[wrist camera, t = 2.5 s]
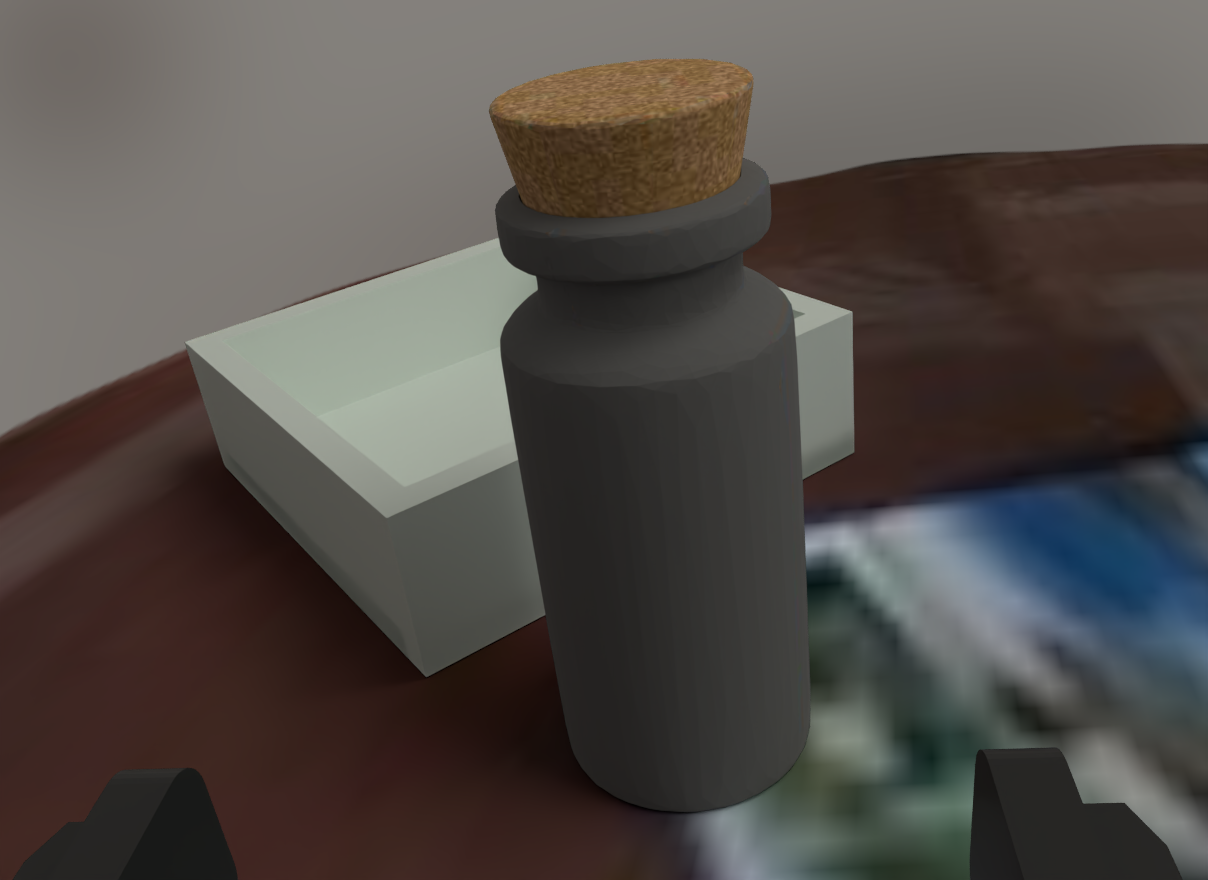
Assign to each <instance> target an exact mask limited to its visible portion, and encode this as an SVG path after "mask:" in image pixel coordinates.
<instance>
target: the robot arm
mask: <svg viewBox="0 0 1208 880" xmlns="http://www.w3.org/2000/svg"><path fill="white" fill-rule="evenodd" d="M970 879H971V880H1182V877H1181V875H1180V873H1179V871H1178V869H1177V866H1176V864H1175V862H1174V860H1173V858H1172V855H1171V853H1170V851H1169V849H1168V847H1167V845H1166V844H1165V843H1164V842H1163V841H1162V840H1161V839H1160V838H1159V837H1158V836H1157V835H1156V834H1155V833H1154V832H1153V831H1152V830H1151V829H1150V828H1149V827H1148V826H1147V825H1146V824H1145V823H1144V822H1143V821H1142V820H1141V819H1140V818H1139V817H1138V816H1137V815H1136V814H1135V813H1134V812H1133V811H1132V810H1131V809H1130V808H1129V807H1128V806H1127V805H1126V804H1125V803H1096V804H1083V803H1082V800H1081V797H1080V795H1079V792H1078V790H1077V787H1076V785H1075V782H1074V779H1073V777H1072V774H1071V772H1070V769H1069V766H1068V764H1067V762H1066V759H1065V757H1064V755H1063V754H1062V752H1061V751H1060V750H1059V749H1058V748H1024V749H986V750H979V751H978V753H977V756H976V764H975V779H974V795H973V812H972V828H971V845H970ZM13 880H238V878H237V872H236V867H235V864H234V861H233V858H232V856H231V853H230V850H229V848H228V845H227V842H226V839H225V837H224V834H223V831H222V829H221V826H220V823H219V820H218V818H217V815H216V812H215V810H214V807H213V804H212V802H211V799H210V796H209V793H208V791H207V788H206V785H205V783H204V780H203V778H202V776H201V775H200V774H199V772H197V771H196V770H195V769H192V768H173V769H136V770H123V771H120V772H118V773H117V774H115V775H114V776H113V777H112V778H111V780H110V781H109V782H108V784H107V785H106V787H105V789H104V790H103V792H102V793H101V795H100V797H99V798H98V800H97V802H96V803H95V805H94V806H93V808H92V810H91V811H90V813H89V815H88V816H87V818H86V819H85V821H84V822H68V823H67V824H66V825H65V826H64V827H62V828H61V829H60V830H59V831H58V832H57V833H56V834H55V835H54V836H53V837H51V838H50V839H49V840H48V841H47V842H46V843H45V844H44V845H43V846H41V847H40V848H39V849H38V850H37V851H36V852H35V853H34V854H33V855H31V856H30V857H29V858H28V859H27V860H26V861H25V862H24V863H23V865H22V866H21V868H20V869H19V871H18V872H17V874H16V875H15V877H14V878H13Z"/></svg>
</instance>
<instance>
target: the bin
mask: <svg viewBox="0 0 1208 880" xmlns="http://www.w3.org/2000/svg"><path fill="white" fill-rule="evenodd" d="M779 289H780V290H781V291H782V292H783V293H784V294H785V295H786V296H787V298H788V300H789V301H790V303H791V304H792V310H793V315H794V322H795V335H796V348H797V363H798V386H799V409H800V432H801V455H802V478H803V479H805V478H807V477H808V476H810V475H812V474H814V473H816V472H818V471H820V470H822V469H824V468H826V467H827V466H829V465H831V464H833V463H835V462H837V461H839V460H841V459H843V458H845V457H846V456H848V455H850V454H852V453H854V398H853V329H852V311H849V310H846V309H843V308H840V307H837V306H834V305H831V304H827V303H824V302H821V301H818V300H815V299H812V298H809V297H806V296H803V295H800V294H797V293H794V292H791V291H788V290H785V289H782V288H779ZM537 290H538V286H537V279H536V276H533V275H530V274H527V273H525V272H523V271H521V270H519V269H517V268H515V267H514V266H513V265H511V264H510V263H509V262H508V261H507V259H506V258H505V257H504V255H503V253H502V250H501V247H500V242H499V238H497V239H494V240H491V241H488V242H485V243H482V244H479V245H476V246H473V247H470V248H467V249H464V250H461V251H458V252H455V253H452V254H449V255H446V256H443V257H440V258H437V259H434V260H431V261H428V262H424V263H421V264H418V265H415V266H412V267H409V268H406V269H403V270H400V271H397V272H394V273H391V274H388V275H385V276H382V277H379V278H376V279H373V280H370V281H367V282H364V283H361V284H358V285H355V286H352V287H349V288H346V289H343V290H340V291H337V292H334V293H331V294H328V295H325V296H322V297H319V298H316V299H313V300H310V301H307V302H304V303H301V304H298V305H295V306H292V307H289V308H286V309H283V310H280V311H277V312H274V313H271V314H268V315H265V316H262V317H259V318H256V319H253V320H250V321H247V322H244V323H241V324H238V325H235V326H232V327H229V328H226V329H223V330H220V331H217V332H214V333H211V334H208V335H205V336H202V337H199V338H196V339H193V340H190V341H187V342H185V345H186V348H187V351H188V354H189V357H190V360H191V363H192V366H193V370H194V373H195V376H196V379H197V382H198V385H199V388H200V391H201V394H202V397H203V401H204V404H205V407H206V410H207V413H208V416H209V419H210V422H211V425H212V429H213V432H214V435H215V438H216V441H217V444H218V447H219V450H220V453H221V456H222V460H223V463H224V466H225V467H226V468H227V469H228V470H229V471H230V472H231V473H232V474H233V475H234V476H235V477H236V479H237V480H238V481H239V482H240V483H241V484H242V485H243V486H244V487H245V488H246V489H247V490H248V491H249V492H250V493H251V494H252V495H253V496H254V497H255V498H256V499H257V501H258V502H259V503H260V504H261V505H262V506H263V507H264V508H265V509H266V510H267V511H268V512H269V513H270V514H271V515H272V516H273V517H274V518H275V519H276V520H277V521H278V523H279V524H280V525H281V526H282V527H283V528H284V529H285V530H286V531H287V532H288V533H289V534H290V535H291V536H292V537H293V538H294V539H295V540H296V541H297V542H298V543H299V545H300V546H301V547H302V548H303V549H304V550H305V551H306V552H307V553H308V554H309V555H310V556H311V557H312V558H313V559H314V560H315V561H316V562H317V563H318V564H319V565H320V567H321V568H322V569H323V570H324V571H325V572H326V573H327V574H328V575H329V576H330V577H331V578H332V579H333V580H334V581H335V582H336V583H337V584H338V585H339V586H340V587H341V589H342V590H343V591H344V592H345V593H346V594H347V595H348V596H349V597H350V598H351V599H352V600H353V601H354V602H355V603H356V604H357V605H358V606H359V607H360V608H361V609H362V611H363V612H364V613H365V614H366V615H367V616H368V617H369V618H370V619H371V620H372V621H373V622H374V623H375V624H376V625H377V626H378V627H379V628H380V629H381V630H382V631H383V633H384V634H385V635H386V636H387V637H388V638H389V639H390V640H391V641H392V642H393V643H394V644H395V645H396V646H397V647H398V648H399V649H400V650H401V651H402V652H403V653H404V655H405V656H406V657H407V658H408V659H409V660H410V661H411V662H412V663H413V664H414V665H415V666H416V667H417V668H418V669H419V670H420V671H421V672H422V673H423V674H424V675H425V677H428V676H430V675H432V674H434V673H436V672H437V671H439V670H441V669H443V668H445V667H447V666H449V665H451V664H453V663H455V662H457V661H458V660H460V659H462V658H464V657H466V656H468V655H470V654H472V653H474V652H476V651H477V650H479V649H481V648H483V647H485V646H487V645H489V644H491V643H493V642H495V641H496V640H498V639H500V638H502V637H504V636H506V635H508V634H510V633H512V632H514V631H515V630H517V629H519V628H521V627H523V626H525V625H527V624H529V623H531V622H533V621H534V620H536V619H538V618H540V617H542V616H544V615H545V609H544V603H543V598H542V592H541V586H540V581H539V575H538V569H537V564H536V558H535V552H534V547H533V541H532V536H531V530H530V524H529V519H528V513H527V507H526V502H525V496H524V490H523V485H522V479H521V473H520V468H519V462H518V456H517V451H516V445H515V439H514V434H513V428H512V423H511V417H510V410H509V404H508V398H507V392H506V386H505V380H504V373H503V367H502V361H501V352H500V337H501V334H502V330H503V327H504V325H505V324H506V322H507V321H508V319H509V318H510V316H511V315H512V314H513V312H514V311H515V310H516V309H517V308H518V307H519V306H520V305H521V303H522V302H523V301H524V300H526V299H527V298H528V297H529V296H530V295H531V294H533V293H534V292H536V291H537Z"/></svg>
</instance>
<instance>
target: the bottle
mask: <svg viewBox="0 0 1208 880" xmlns="http://www.w3.org/2000/svg"><path fill="white" fill-rule="evenodd" d="M752 89H753V76H752V74H751V73H750V72H749V71H748V70H747V69H745V68H743V67H740V66H737V65H735V64H732V63H728V62H720V61H713V60H705V59H652V60H643V61H633V62H623V63H614V64H606V65H599V66H593V67H587V68H582V69H577V70H572V71H568V72H563V73H558V74H554V75H550V76H547V77H544V78H540V79H537V80H533V81H530V82H527V83H524V84H522V85H520V86H517V87H515V88H512V89H510V90H508V91H506V92H505V93H503V94H502V95H500V96H499V97H497V98H496V99H495V100H494V101H493V102H492V104H491V105H490V109H489V113H490V117H491V120H492V123H493V125H494V128H495V130H496V133H497V136H498V139H499V141H500V144H501V147H502V149H503V152H504V155H505V157H506V160H507V163H508V165H509V168H510V170H511V173H512V176H513V179H514V181H515V183H516V185H515V186H514V187H512V188H510V189H509V190H508V191H507V192H506V193H505V194H504V195H503V196H501V198H500V199H499V201H498V203H497V204H496V209H495V214H496V222H497V230H498V236H499V242H500V247H501V250H502V253H503V255H504V257H505V258H506V259H507V261H508V262H509V263H510V264H511V265H513V266H514V267H515V268H517V269H519V270H521V271H523V272H525V273H527V274H530V275H533V276H536V279H537V286H538V290H537V291H536V292H534V293H533V294H531V295H530V296H529V297H528V298H527V299H526V300H524V301H523V302H522V303H521V305H520V306H519V307H518V308H517V309H516V310H515V311H514V312H513V314H512V315H511V316H510V318H509V319H508V321H507V322H506V324H505V325H504V327H503V330H502V334H501V337H500V352H501V361H502V367H503V373H504V380H505V386H506V392H507V398H508V404H509V410H510V417H511V423H512V428H513V434H514V439H515V445H516V451H517V456H518V462H519V468H520V473H521V479H522V485H523V490H524V496H525V502H526V507H527V513H528V519H529V524H530V530H531V536H532V541H533V547H534V552H535V558H536V564H537V569H538V575H539V581H540V586H541V592H542V598H543V603H544V609H545V615H546V620H547V626H548V632H549V637H550V643H551V648H552V653H553V659H554V664H555V670H556V675H557V680H558V686H559V691H560V696H561V702H562V707H563V712H564V718H565V723H566V727H567V731H568V735H569V739H570V744H571V748H572V750H573V753H574V755H575V757H576V759H577V761H578V762H579V764H580V766H581V768H582V769H583V770H584V771H585V772H586V774H587V775H588V776H589V777H590V778H591V779H592V780H593V781H594V782H595V784H597V785H598V786H600V787H601V788H603V789H604V790H606V791H607V792H609V793H610V794H612V795H613V796H615V797H617V798H619V799H621V800H623V801H626V802H628V803H631V804H635V805H638V806H641V807H645V808H648V809H654V810H660V811H674V812H698V811H705V810H711V809H716V808H722V807H726V806H730V805H733V804H736V803H739V802H742V801H744V800H746V799H748V798H750V797H752V796H755V795H757V794H759V793H761V792H762V791H764V790H765V789H767V788H768V787H770V786H771V785H773V784H774V783H776V782H777V781H779V780H780V779H781V778H782V777H783V776H784V775H785V774H786V773H787V772H788V771H789V770H790V769H791V767H792V766H793V765H794V763H795V762H796V760H797V758H798V757H799V755H800V754H801V752H802V750H803V749H804V747H805V744H806V740H807V736H808V732H809V728H810V665H809V638H808V612H807V585H806V558H805V531H804V504H803V478H802V455H801V432H800V409H799V386H798V363H797V348H796V335H795V322H794V315H793V310H792V304H791V303H790V301H789V300H788V298H787V296H786V295H785V294H784V293H783V292H782V291H781V290H780V289H779V287H778V286H777V285H775V284H774V283H773V282H771V281H770V280H768V279H767V278H765V277H764V276H762V275H761V274H759V273H758V272H756V271H753V270H751V269H749V268H747V267H745V266H743V252H744V251H746V250H747V249H749V248H750V247H752V246H753V245H754V244H756V243H757V242H758V241H759V240H760V239H761V238H762V237H763V236H764V235H765V233H766V232H767V231H768V228H769V226H770V221H771V198H770V185H769V180H768V176H767V174H766V172H765V171H764V170H763V169H762V168H761V167H760V166H759V165H757V164H756V163H755V162H752V161H750V160H747V159H745V158H743V151H744V145H745V138H746V131H747V124H748V117H749V110H750V103H751V96H752Z"/></svg>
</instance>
